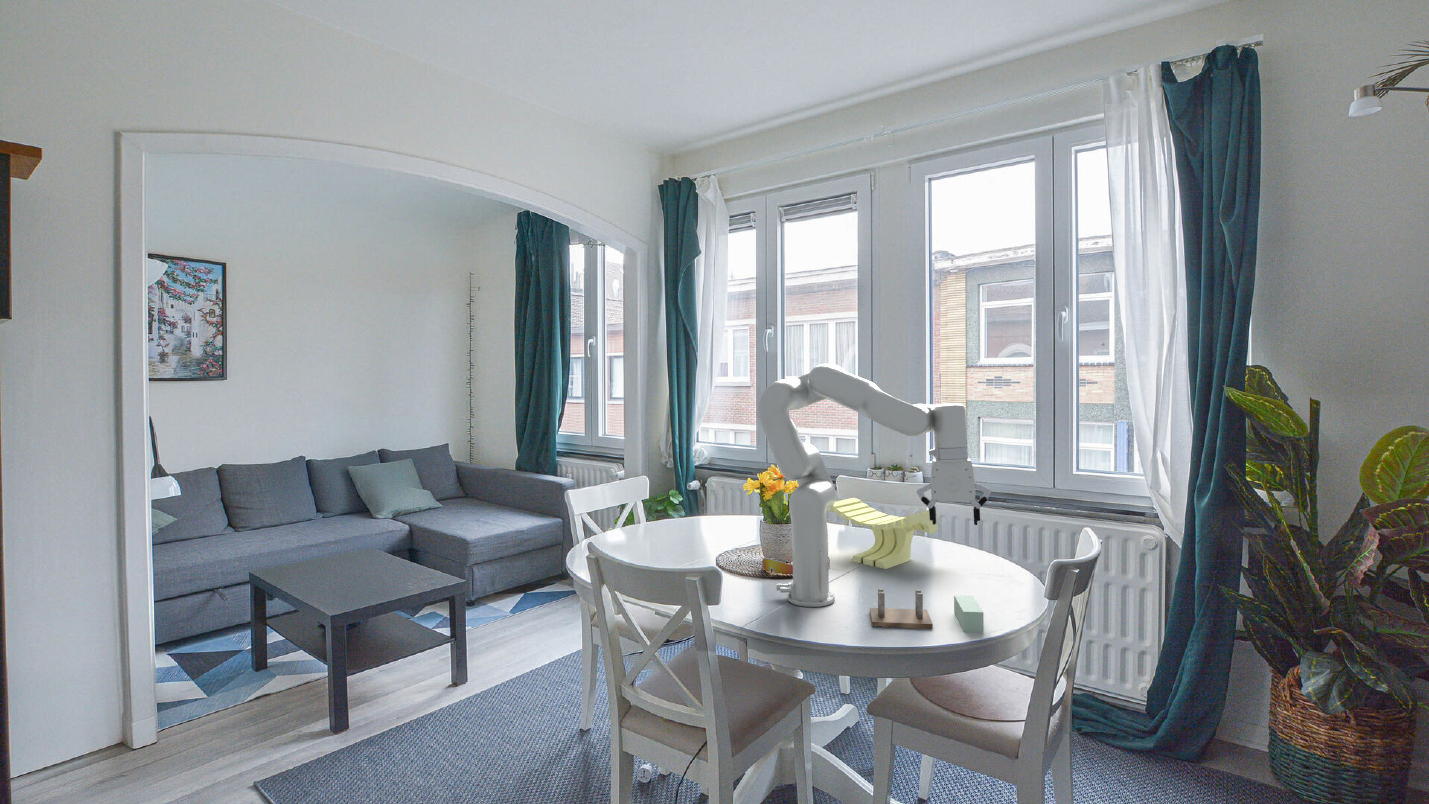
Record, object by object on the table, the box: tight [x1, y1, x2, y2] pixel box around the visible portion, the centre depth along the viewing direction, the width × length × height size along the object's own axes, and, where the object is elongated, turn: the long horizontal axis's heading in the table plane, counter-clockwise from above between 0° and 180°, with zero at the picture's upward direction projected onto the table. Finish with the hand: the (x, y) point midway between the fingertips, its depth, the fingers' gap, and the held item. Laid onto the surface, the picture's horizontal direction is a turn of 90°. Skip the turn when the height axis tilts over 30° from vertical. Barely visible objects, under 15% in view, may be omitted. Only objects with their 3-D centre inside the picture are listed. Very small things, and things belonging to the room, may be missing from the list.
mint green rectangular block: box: [953, 594, 984, 633], centre depth 171 cm, size 4×12×5 cm, turn 171°
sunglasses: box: [761, 557, 793, 574], centre depth 220 cm, size 14×15×5 cm
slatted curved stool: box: [829, 497, 939, 570], centre depth 228 cm, size 30×16×18 cm, turn 42°
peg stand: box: [869, 588, 934, 630], centre depth 174 cm, size 14×10×7 cm
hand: (955, 523), depth 174 cm, fingers open, 9 cm apart
